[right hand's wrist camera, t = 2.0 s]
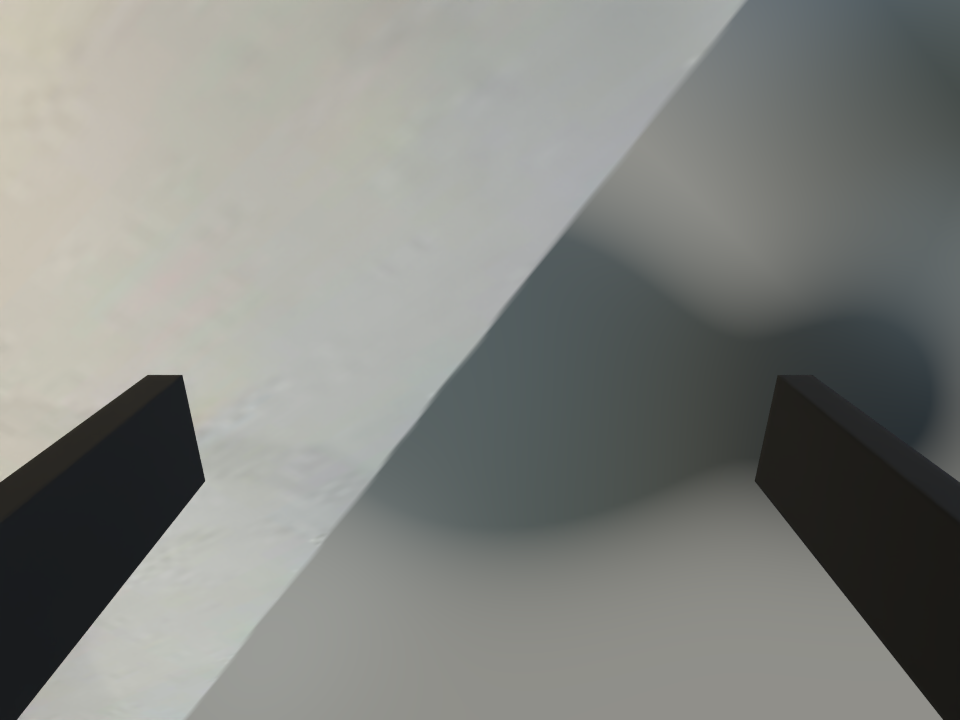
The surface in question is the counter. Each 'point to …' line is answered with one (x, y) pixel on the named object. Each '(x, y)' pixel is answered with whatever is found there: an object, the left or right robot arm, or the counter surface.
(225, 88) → the counter surface
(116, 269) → the counter surface
